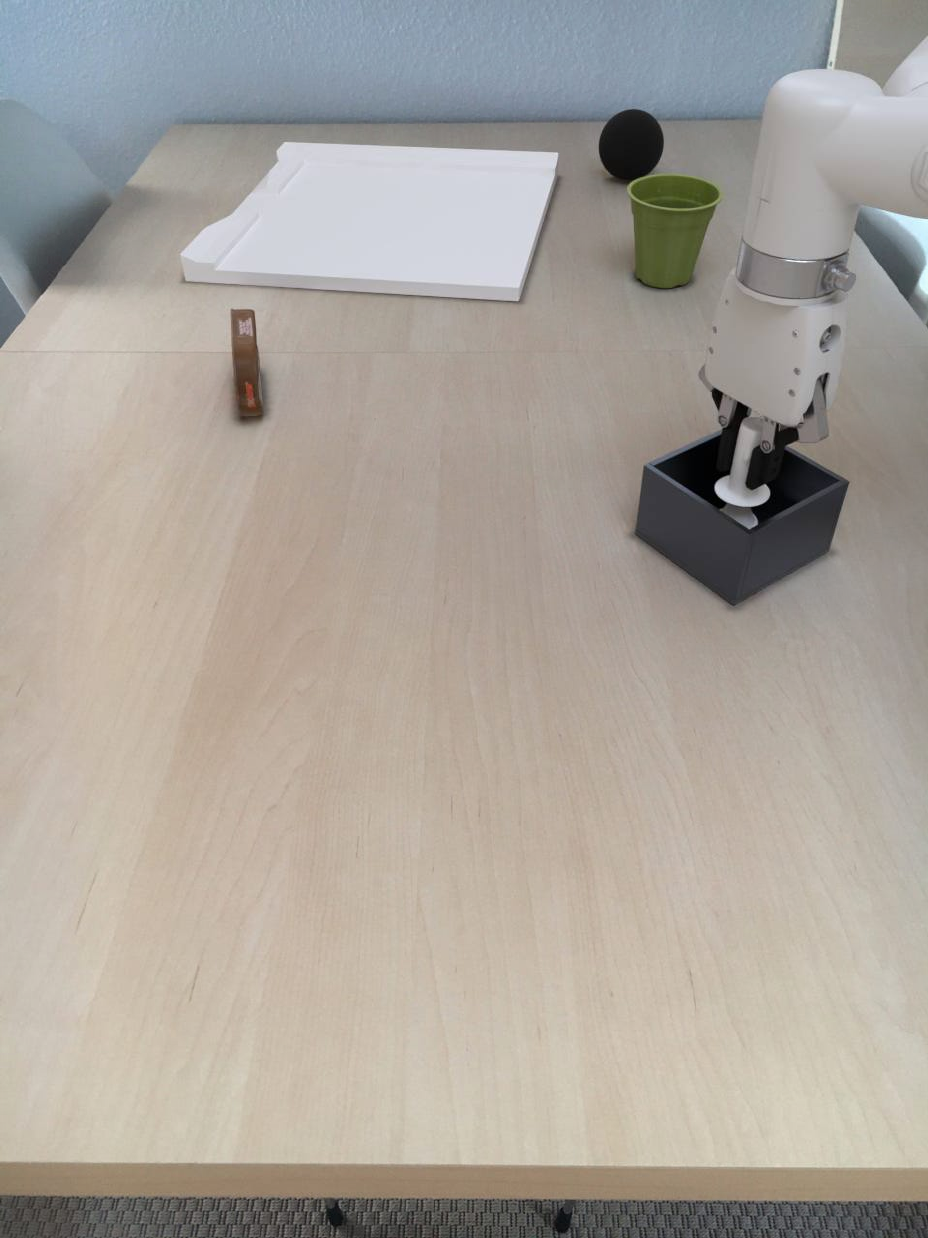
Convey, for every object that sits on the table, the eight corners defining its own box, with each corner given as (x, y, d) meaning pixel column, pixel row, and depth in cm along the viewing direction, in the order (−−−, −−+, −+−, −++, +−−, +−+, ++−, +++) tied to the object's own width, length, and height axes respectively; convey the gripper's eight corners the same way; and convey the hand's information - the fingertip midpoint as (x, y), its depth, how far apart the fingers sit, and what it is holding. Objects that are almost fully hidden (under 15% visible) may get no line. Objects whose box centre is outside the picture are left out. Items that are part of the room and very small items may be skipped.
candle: (736, 509, 92) (761, 394, 83) (775, 540, 88) (805, 424, 80) (690, 526, 90) (710, 411, 82) (728, 559, 86) (753, 442, 78)
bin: (728, 487, 96) (741, 419, 91) (829, 551, 89) (850, 481, 83) (634, 534, 91) (643, 465, 86) (733, 606, 83) (749, 535, 78)
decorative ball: (588, 185, 155) (592, 116, 148) (606, 164, 162) (611, 97, 155) (650, 193, 152) (658, 123, 145) (666, 171, 159) (674, 103, 152)
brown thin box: (237, 364, 116) (224, 295, 110) (264, 361, 116) (253, 292, 110) (240, 433, 105) (225, 360, 99) (270, 429, 105) (257, 357, 99)
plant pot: (626, 299, 126) (635, 209, 118) (612, 260, 134) (620, 174, 127) (718, 296, 126) (733, 206, 118) (699, 257, 135) (712, 171, 127)
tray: (518, 301, 126) (519, 273, 123) (185, 280, 132) (179, 254, 130) (557, 176, 158) (558, 152, 156) (288, 164, 165) (284, 141, 162)
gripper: (917, 289, 69) (851, 504, 81) (742, 218, 78) (707, 419, 91) (846, 319, 66) (789, 538, 78) (673, 241, 75) (647, 447, 88)
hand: (745, 472), depth 84 cm, fingers closed on candle, 2 cm apart
